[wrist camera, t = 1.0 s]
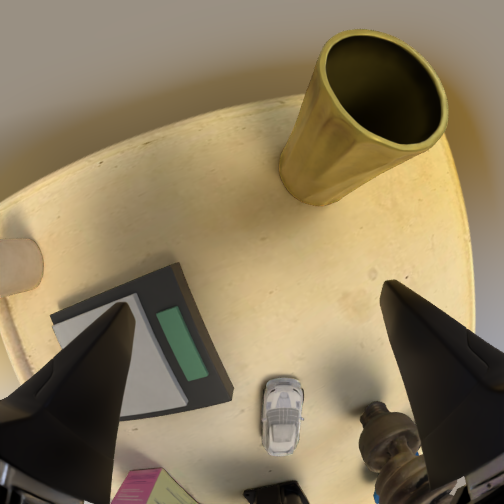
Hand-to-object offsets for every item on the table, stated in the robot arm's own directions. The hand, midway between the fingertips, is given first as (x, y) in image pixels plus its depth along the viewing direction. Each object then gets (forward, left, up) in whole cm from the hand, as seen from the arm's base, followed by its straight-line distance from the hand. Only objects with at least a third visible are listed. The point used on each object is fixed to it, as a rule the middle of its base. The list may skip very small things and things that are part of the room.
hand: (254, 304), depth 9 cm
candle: (+8, +23, -13) cm, 28 cm away
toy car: (-14, +3, -13) cm, 19 cm away
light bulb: (-18, -5, -13) cm, 23 cm away
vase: (+5, -7, -13) cm, 16 cm away
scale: (-4, +13, -13) cm, 19 cm away
